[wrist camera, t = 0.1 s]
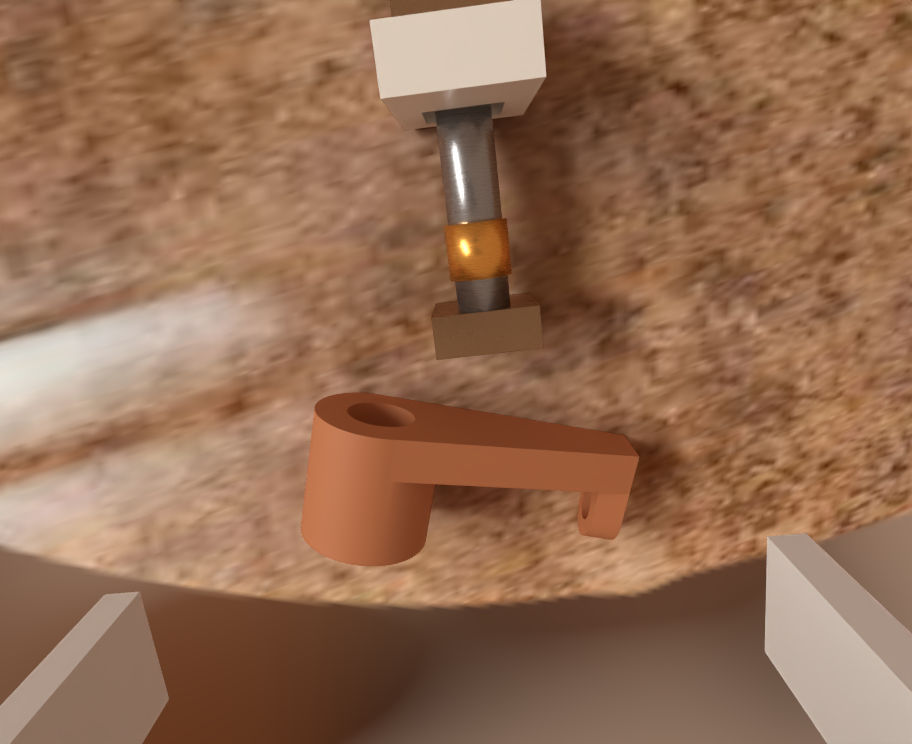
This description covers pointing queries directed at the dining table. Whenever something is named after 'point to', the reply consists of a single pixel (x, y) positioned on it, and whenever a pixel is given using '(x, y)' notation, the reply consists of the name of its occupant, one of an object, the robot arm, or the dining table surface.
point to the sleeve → (460, 60)
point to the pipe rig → (475, 232)
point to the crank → (443, 471)
